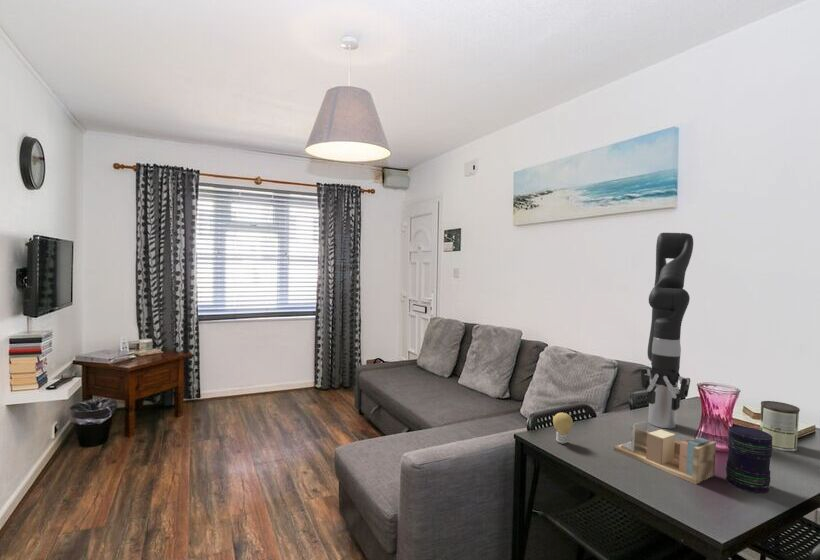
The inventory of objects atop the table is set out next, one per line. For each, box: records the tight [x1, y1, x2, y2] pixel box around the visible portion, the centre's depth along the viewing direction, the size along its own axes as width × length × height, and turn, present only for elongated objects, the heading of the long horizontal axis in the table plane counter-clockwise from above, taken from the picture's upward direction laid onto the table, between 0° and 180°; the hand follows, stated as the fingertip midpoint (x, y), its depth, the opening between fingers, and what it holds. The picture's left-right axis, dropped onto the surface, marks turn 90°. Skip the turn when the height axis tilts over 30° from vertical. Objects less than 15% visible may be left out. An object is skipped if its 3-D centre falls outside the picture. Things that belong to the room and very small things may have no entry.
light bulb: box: [552, 412, 574, 444], centre depth 146 cm, size 6×6×10 cm
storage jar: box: [725, 425, 773, 495], centre depth 120 cm, size 10×10×15 cm
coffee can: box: [759, 400, 801, 452], centre depth 150 cm, size 10×10×14 cm
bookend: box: [620, 420, 649, 452], centre depth 141 cm, size 7×4×9 cm, turn 121°
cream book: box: [646, 429, 676, 465], centre depth 133 cm, size 7×4×8 cm, turn 121°
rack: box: [613, 426, 717, 485], centre depth 133 cm, size 10×25×10 cm, turn 31°
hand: (662, 406), depth 132 cm, fingers open, 6 cm apart
